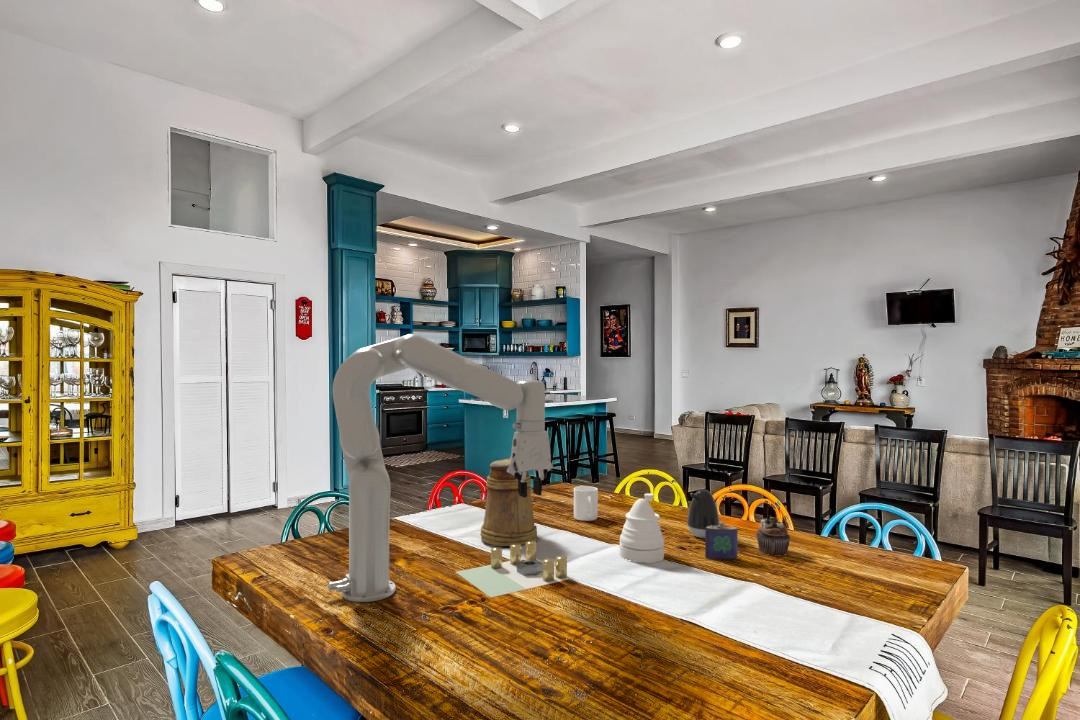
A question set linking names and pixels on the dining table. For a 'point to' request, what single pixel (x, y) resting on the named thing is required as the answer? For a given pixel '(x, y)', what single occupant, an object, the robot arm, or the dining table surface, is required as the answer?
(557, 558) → the spacers
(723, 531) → the flask
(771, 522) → the cupcake
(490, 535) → the tankard
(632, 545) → the honey pot
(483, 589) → the mat
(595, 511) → the mug
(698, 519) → the penguin figurine
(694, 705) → the dining table surface
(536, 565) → the nut
